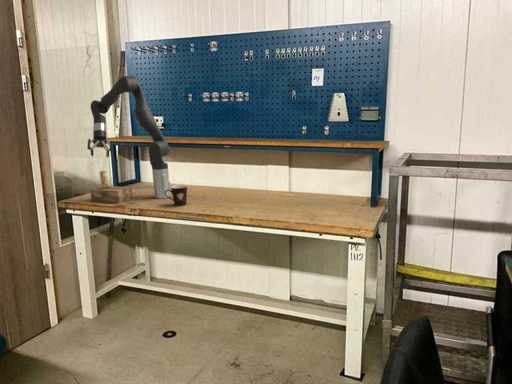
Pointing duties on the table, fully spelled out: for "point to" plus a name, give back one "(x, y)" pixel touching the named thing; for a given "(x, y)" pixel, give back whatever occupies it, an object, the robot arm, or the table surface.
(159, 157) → the robot arm
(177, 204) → the coffee mug
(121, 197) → the brown rectangular block
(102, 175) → the wooden key
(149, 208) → the table surface
